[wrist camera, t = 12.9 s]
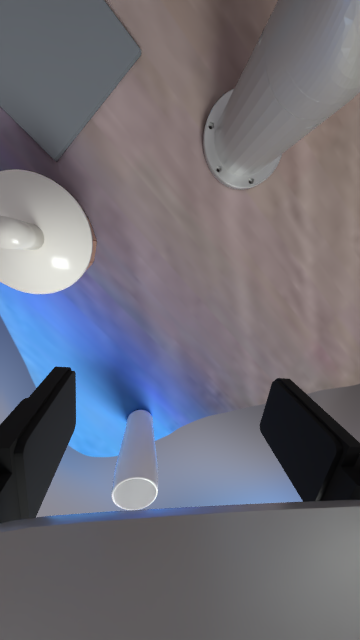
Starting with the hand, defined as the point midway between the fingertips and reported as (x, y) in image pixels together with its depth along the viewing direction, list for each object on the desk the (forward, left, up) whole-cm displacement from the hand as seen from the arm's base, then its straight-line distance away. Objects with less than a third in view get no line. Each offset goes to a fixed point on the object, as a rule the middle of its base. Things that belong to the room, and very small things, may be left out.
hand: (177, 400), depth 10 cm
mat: (-13, -32, -29) cm, 46 cm away
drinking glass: (+22, +16, -30) cm, 40 cm away
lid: (+5, -17, -23) cm, 30 cm away
